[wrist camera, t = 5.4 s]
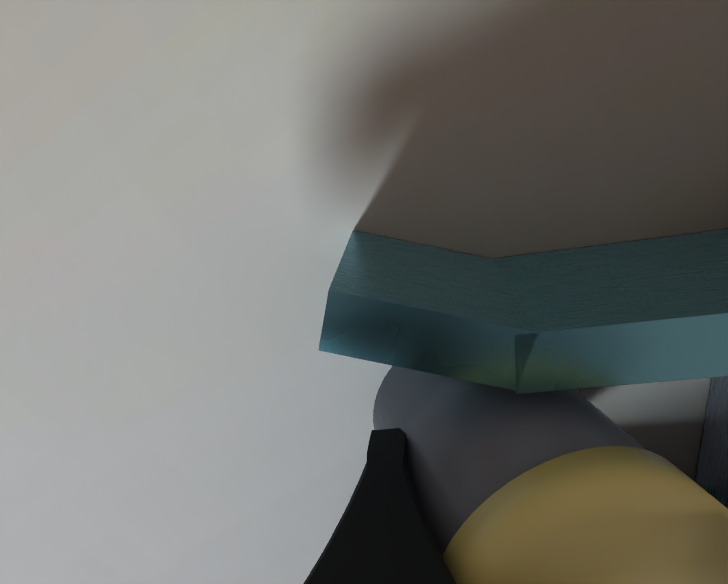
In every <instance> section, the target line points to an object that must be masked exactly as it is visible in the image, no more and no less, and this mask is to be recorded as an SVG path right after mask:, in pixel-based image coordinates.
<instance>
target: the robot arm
mask: <svg viewBox="0 0 728 584" xmlns="http://www.w3.org/2000/svg"><path fill="white" fill-rule="evenodd" d="M304 584H456V582H455V580H454V578H453V576H452V574H451V572H450V571H449V569H448V567H447V565H446V563H445V561H444V558H443V556H442V554H441V552H440V550H439V548H438V546H437V544H436V541H435V539H434V537H433V535H432V532H431V530H430V528H429V525H428V523H427V521H426V518H425V516H424V513H423V511H422V508H421V506H420V503H419V500H418V498H417V495H416V492H415V489H414V487H413V484H412V481H411V477H410V474H409V471H408V467H407V453H406V439H405V433H404V432H403V431H402V430H401V429H400V428H393V429H381V430H372V432H371V436H370V440H369V445H368V451H367V463H366V465H365V468H364V470H363V473H362V475H361V477H360V480H359V482H358V484H357V486H356V488H355V491H354V493H353V495H352V497H351V499H350V502H349V504H348V506H347V508H346V510H345V512H344V514H343V516H342V518H341V519H340V521H339V523H338V525H337V527H336V529H335V531H334V533H333V535H332V536H331V538H330V540H329V542H328V544H327V546H326V547H325V549H324V551H323V553H322V554H321V556H320V558H319V559H318V561H317V563H316V564H315V566H314V568H313V569H312V571H311V573H310V574H309V576H308V577H307V579H306V580H305V582H304Z"/></svg>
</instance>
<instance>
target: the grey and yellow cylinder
mask: <svg viewBox="0 0 728 584" xmlns="http://www.w3.org/2000/svg"><path fill="white" fill-rule="evenodd" d="M373 423H374V430H381V429H393V428H400V429H401V430H402V431H403V432H404V433H405V439H406V453H407V467H408V471H409V474H410V477H411V481H412V484H413V487H414V489H415V492H416V495H417V498H418V500H419V503H420V506H421V508H422V511H423V513H424V516H425V518H426V521H427V523H428V525H429V528H430V530H431V532H432V535H433V537H434V539H435V541H436V544H437V546H438V548H439V550H440V552H441V554H442V556H443V558H444V561H445V563H446V565H447V567H448V569H449V571H450V572H451V574H452V576H453V578H454V580H455V582H456V584H728V509H727V508H726V507H725V506H724V505H722V504H721V503H720V502H719V501H718V500H716V499H715V498H714V497H713V496H711V495H710V494H709V493H708V492H707V491H705V490H704V489H703V488H702V487H700V486H699V485H698V484H697V483H695V482H694V481H693V480H692V479H691V478H689V477H688V476H687V475H686V474H684V473H683V472H682V471H681V470H680V469H678V468H677V467H676V466H675V465H673V464H672V463H671V462H669V461H668V460H667V459H665V458H664V457H662V456H660V455H658V454H656V453H653V452H651V451H648V450H646V449H645V448H644V447H643V446H642V445H640V444H639V443H638V442H637V441H636V440H634V439H633V438H632V437H631V436H630V435H628V434H627V433H626V432H625V431H624V430H622V429H621V428H620V427H619V426H618V425H617V424H615V423H614V422H613V421H612V420H611V419H609V418H608V417H607V416H606V415H605V414H603V413H602V412H601V411H600V410H599V409H597V408H596V407H595V406H594V405H593V404H591V403H590V402H589V401H588V400H587V399H585V398H584V397H583V396H582V395H581V394H579V393H578V392H577V391H576V390H575V389H568V390H556V391H545V392H533V393H522V394H516V391H515V390H510V389H505V388H500V387H495V386H490V385H485V384H480V383H476V382H471V381H466V380H461V379H456V378H451V377H446V376H442V375H437V374H432V373H427V372H422V371H417V370H412V369H407V368H403V367H398V366H393V367H392V368H391V369H390V370H389V372H388V373H387V375H386V377H385V378H384V380H383V382H382V384H381V386H380V388H379V390H378V393H377V396H376V400H375V404H374V410H373Z"/></svg>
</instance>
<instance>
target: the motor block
mask: <svg viewBox="0 0 728 584" xmlns="http://www.w3.org/2000/svg"><path fill="white" fill-rule="evenodd" d="M319 350H320V351H325V352H330V353H334V354H339V355H344V356H349V357H354V358H359V359H364V360H368V361H373V362H378V363H383V364H388V365H393V366H398V367H403V368H407V369H412V370H417V371H422V372H427V373H432V374H437V375H442V376H446V377H451V378H456V379H461V380H466V381H471V382H476V383H480V384H485V385H490V386H495V387H500V388H505V389H510V390H515V391H516V394H522V393H533V392H545V391H556V390H568V389H580V388H591V387H603V386H615V385H626V384H638V383H650V382H661V381H673V380H685V379H696V378H708V377H712V379H711V385H710V392H709V398H708V404H707V411H706V417H705V424H704V430H703V436H702V443H701V449H700V456H699V462H698V468H697V475H696V481H695V483H697V484H698V485H699V486H700V487H702V488H703V489H704V490H705V491H707V492H708V493H709V494H710V495H711V496H713V497H714V498H715V499H716V500H718V501H719V502H720V503H721V504H722V505H724V506H725V507H726V508H727V509H728V229H723V230H716V231H708V232H700V233H692V234H684V235H676V236H668V237H660V238H652V239H645V240H637V241H629V242H621V243H613V244H605V245H597V246H589V247H582V248H574V249H566V250H558V251H550V252H542V253H534V254H526V255H518V256H511V257H503V258H495V259H490V258H485V257H481V256H476V255H471V254H466V253H461V252H456V251H451V250H447V249H442V248H437V247H432V246H427V245H422V244H417V243H412V242H408V241H403V240H398V239H393V238H388V237H383V236H378V235H374V234H369V233H364V232H359V231H354V230H353V231H352V234H351V236H350V239H349V241H348V244H347V246H346V249H345V251H344V254H343V256H342V259H341V261H340V263H339V266H338V268H337V271H336V273H335V276H334V278H333V281H332V283H331V286H330V288H329V292H328V298H327V304H326V310H325V315H324V321H323V327H322V333H321V339H320V345H319Z"/></svg>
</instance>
